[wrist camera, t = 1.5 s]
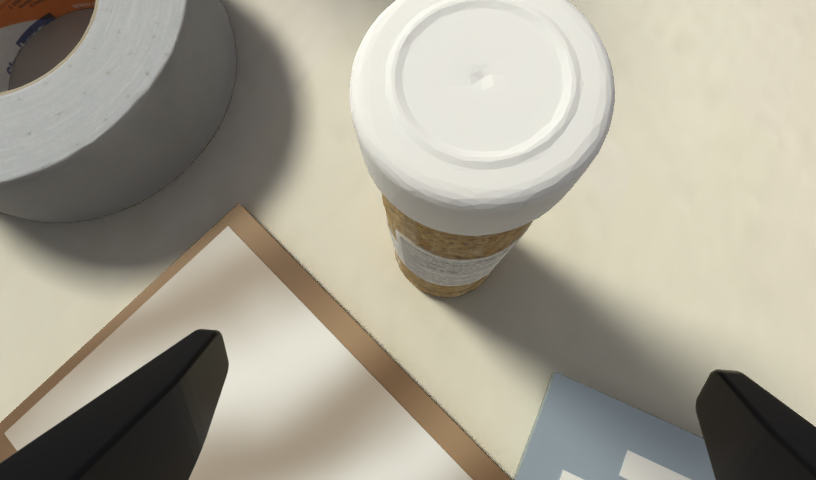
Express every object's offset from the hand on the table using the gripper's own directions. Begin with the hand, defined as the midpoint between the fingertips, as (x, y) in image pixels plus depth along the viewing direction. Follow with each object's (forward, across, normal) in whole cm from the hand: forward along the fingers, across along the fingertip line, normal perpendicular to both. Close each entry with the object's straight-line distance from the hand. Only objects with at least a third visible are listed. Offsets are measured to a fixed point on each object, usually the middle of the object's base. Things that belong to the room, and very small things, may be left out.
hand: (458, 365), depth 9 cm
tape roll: (+17, +18, 0) cm, 25 cm away
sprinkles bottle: (+11, 0, +5) cm, 12 cm away
